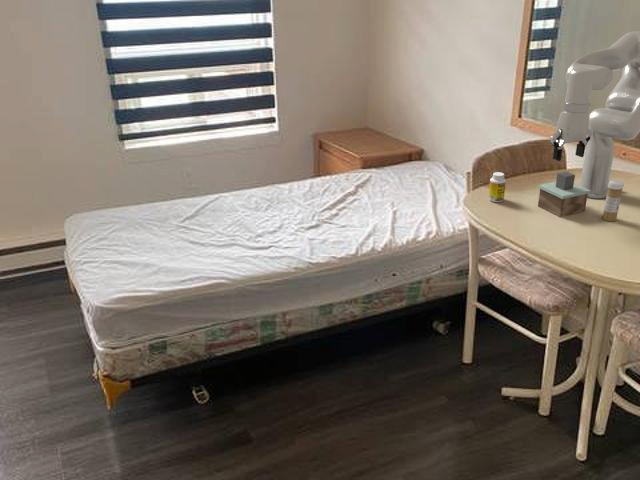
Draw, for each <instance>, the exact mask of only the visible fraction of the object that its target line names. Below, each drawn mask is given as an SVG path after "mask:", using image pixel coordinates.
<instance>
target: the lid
mask: <svg viewBox="0 0 640 480" xmlns="http://www.w3.org/2000/svg"><path fill="white" fill-rule="evenodd" d="M556 175H557V176H556V181H552V182H548V183H542V184H538V189H539V190H540V189H542V190H544V191H546V192H548V193H551V194H553V195H555V196H557V197H559V198H561V199H565V198H569V197H574V196H579V195H584V194H589V193H590V191H591V190H588V189H586V188H584V187H581V186H579V185H580V184H576V183H575V179H576V175H575V174H573V173H571V172H569V171H564V172H563V171H562V172H557V174H556Z"/></svg>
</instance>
